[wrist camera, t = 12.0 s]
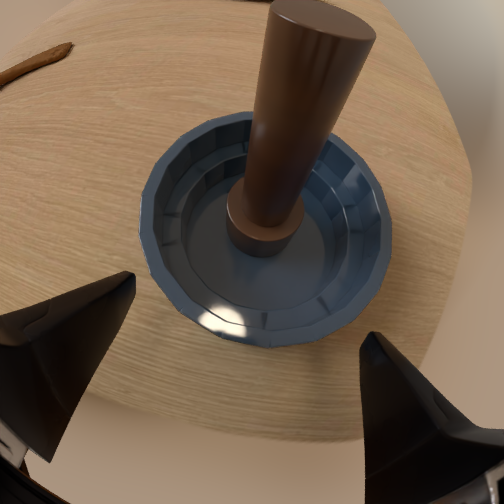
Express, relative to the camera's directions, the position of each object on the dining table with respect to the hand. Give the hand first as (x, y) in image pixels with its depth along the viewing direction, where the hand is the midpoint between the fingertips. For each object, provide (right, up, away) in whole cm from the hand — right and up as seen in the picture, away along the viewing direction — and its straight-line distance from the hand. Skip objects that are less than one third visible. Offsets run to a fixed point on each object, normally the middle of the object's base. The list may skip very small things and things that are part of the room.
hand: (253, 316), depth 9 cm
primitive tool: (-37, +32, +14) cm, 51 cm away
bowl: (+1, +3, +9) cm, 9 cm away
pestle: (0, +4, +9) cm, 9 cm away
